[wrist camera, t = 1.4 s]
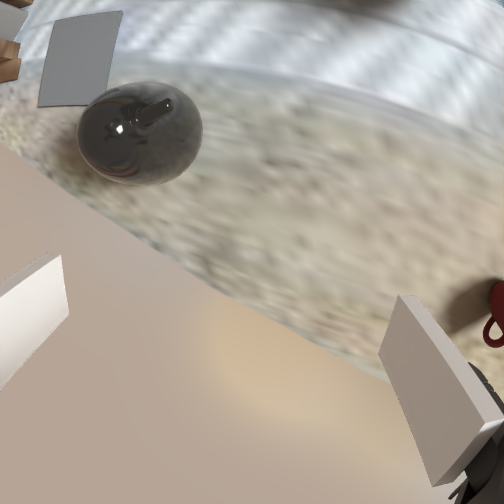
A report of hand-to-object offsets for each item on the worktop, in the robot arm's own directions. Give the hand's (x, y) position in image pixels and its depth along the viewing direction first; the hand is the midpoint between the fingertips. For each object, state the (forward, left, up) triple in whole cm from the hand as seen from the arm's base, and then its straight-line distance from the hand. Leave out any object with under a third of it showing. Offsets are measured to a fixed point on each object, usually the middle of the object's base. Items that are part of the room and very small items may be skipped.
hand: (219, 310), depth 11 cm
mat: (-15, -23, -24) cm, 37 cm away
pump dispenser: (-6, -10, -25) cm, 27 cm away
